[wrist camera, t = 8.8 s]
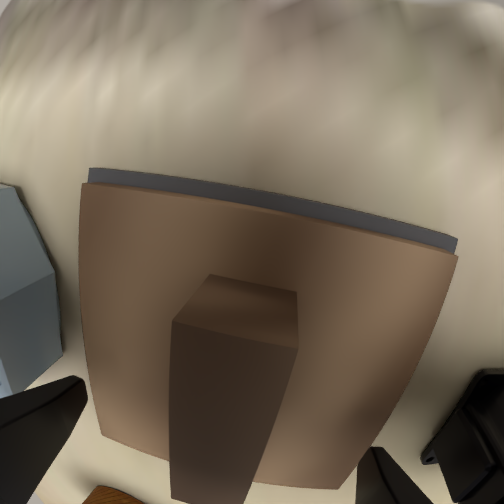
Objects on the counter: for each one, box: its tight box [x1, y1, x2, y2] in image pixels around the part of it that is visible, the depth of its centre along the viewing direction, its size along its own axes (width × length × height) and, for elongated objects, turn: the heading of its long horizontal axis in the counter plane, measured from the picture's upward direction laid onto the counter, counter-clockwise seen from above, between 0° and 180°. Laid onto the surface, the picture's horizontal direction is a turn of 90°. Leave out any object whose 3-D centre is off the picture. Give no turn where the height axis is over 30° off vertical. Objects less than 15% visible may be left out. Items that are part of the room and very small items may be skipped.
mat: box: [88, 168, 458, 254], centre depth 11 cm, size 13×13×1 cm
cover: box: [79, 182, 458, 504], centre depth 8 cm, size 12×12×4 cm
